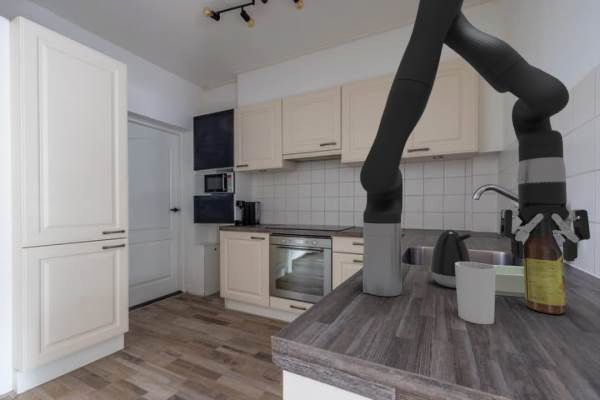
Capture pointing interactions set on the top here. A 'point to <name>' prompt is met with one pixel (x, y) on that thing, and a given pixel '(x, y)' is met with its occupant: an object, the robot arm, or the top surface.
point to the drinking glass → (475, 291)
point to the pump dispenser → (448, 256)
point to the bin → (509, 281)
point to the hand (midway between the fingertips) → (543, 259)
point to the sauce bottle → (544, 270)
